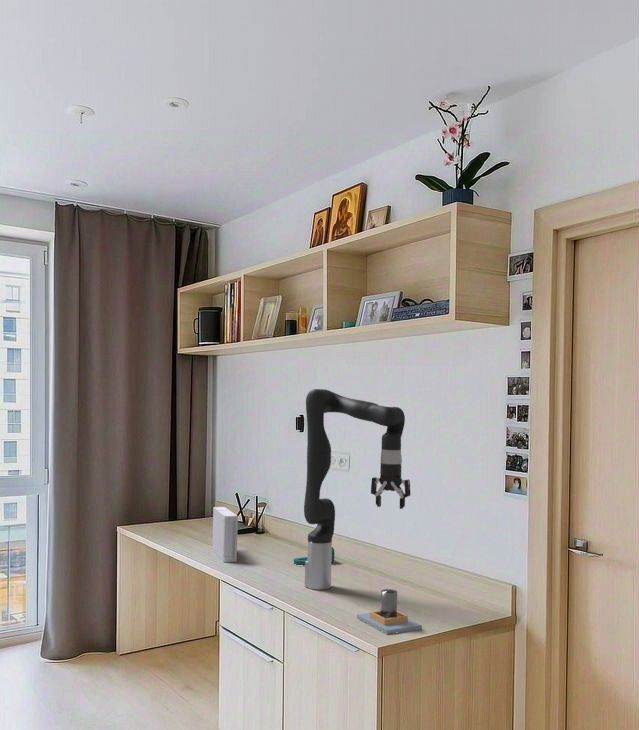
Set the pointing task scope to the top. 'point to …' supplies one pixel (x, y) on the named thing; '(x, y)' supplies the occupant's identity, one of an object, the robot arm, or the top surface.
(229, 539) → the game console
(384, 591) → the grey capped cylinder
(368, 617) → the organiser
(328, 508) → the robot arm
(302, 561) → the bracket
